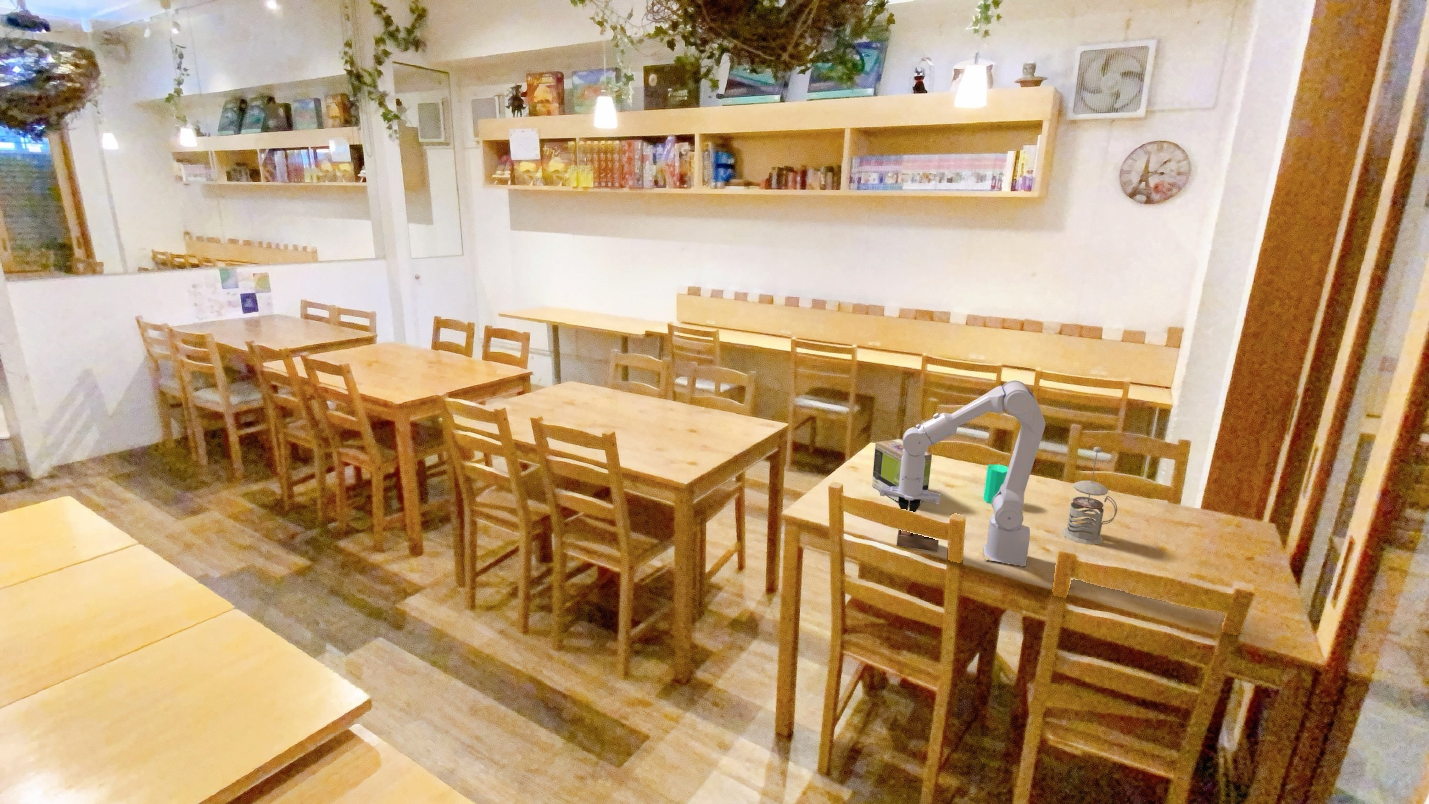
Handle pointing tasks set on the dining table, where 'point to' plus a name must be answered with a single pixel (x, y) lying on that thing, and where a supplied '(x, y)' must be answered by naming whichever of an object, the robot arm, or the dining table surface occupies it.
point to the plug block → (917, 542)
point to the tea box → (893, 465)
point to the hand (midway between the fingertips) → (907, 524)
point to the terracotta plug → (905, 533)
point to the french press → (1087, 530)
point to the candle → (994, 481)
